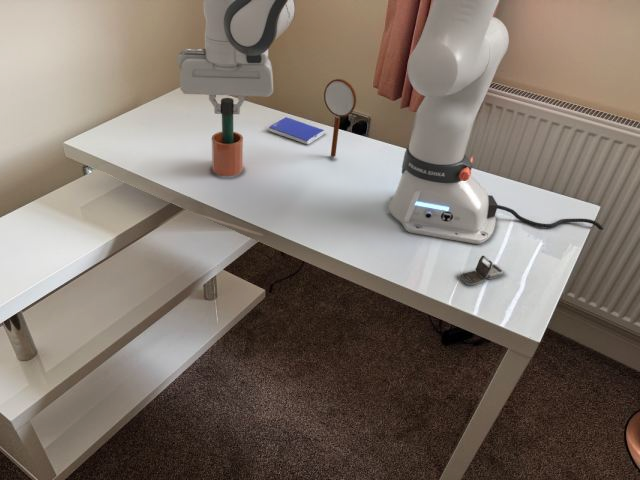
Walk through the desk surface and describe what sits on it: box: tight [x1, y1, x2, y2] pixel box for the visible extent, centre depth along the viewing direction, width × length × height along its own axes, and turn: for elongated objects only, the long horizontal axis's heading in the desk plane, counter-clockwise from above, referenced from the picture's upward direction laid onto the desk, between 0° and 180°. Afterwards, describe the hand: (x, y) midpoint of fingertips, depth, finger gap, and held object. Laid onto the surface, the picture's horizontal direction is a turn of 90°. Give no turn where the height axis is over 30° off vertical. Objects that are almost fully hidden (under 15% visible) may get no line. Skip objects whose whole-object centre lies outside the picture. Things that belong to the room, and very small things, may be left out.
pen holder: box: [211, 131, 244, 177], centre depth 136 cm, size 7×7×8 cm
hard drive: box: [268, 116, 325, 145], centre depth 154 cm, size 2×8×12 cm
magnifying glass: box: [323, 78, 357, 160], centre depth 138 cm, size 9×2×20 cm, turn 50°
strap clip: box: [459, 255, 505, 286], centre depth 108 cm, size 8×3×4 cm, turn 114°
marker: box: [220, 97, 235, 144], centre depth 132 cm, size 3×3×14 cm
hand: (227, 113), depth 129 cm, fingers closed on marker, 3 cm apart
